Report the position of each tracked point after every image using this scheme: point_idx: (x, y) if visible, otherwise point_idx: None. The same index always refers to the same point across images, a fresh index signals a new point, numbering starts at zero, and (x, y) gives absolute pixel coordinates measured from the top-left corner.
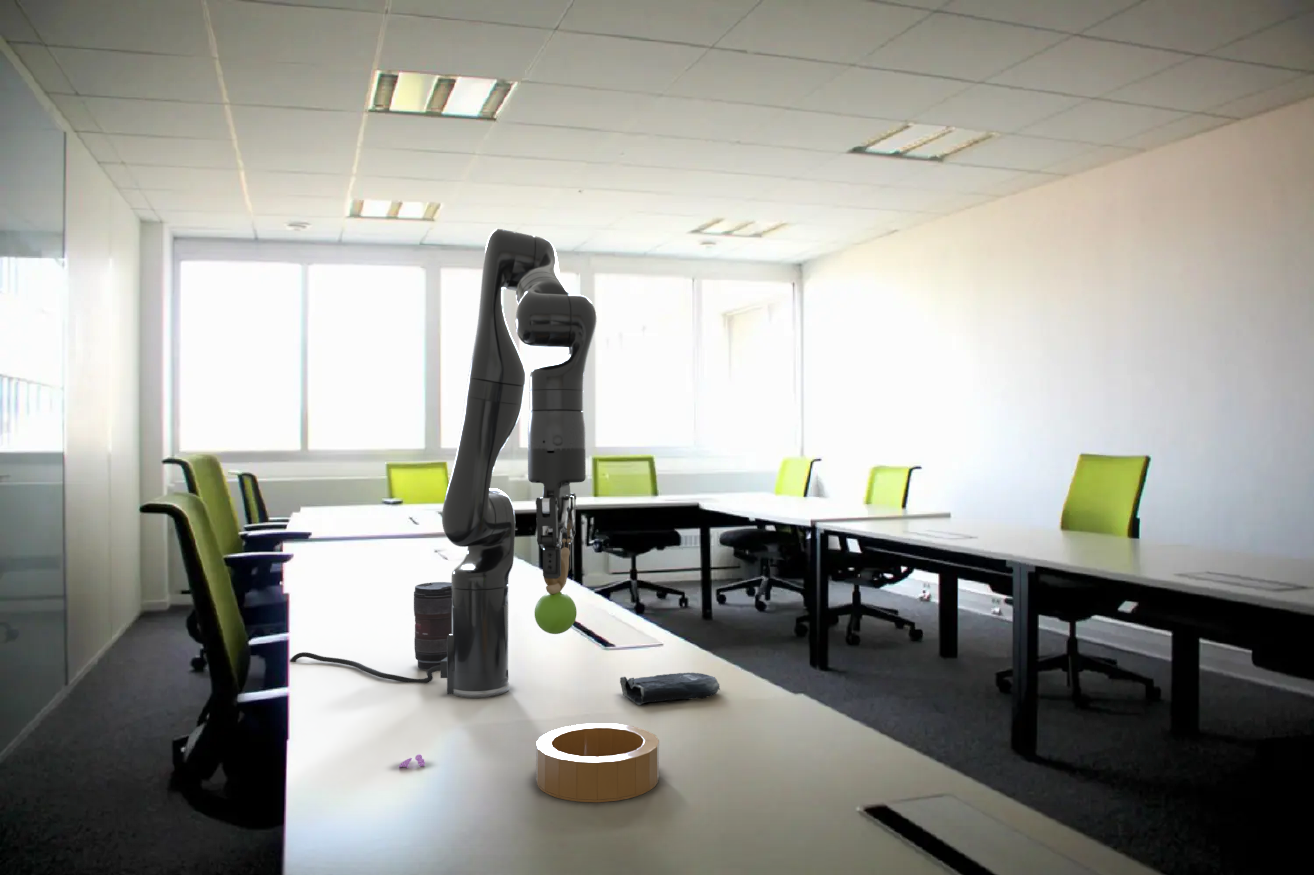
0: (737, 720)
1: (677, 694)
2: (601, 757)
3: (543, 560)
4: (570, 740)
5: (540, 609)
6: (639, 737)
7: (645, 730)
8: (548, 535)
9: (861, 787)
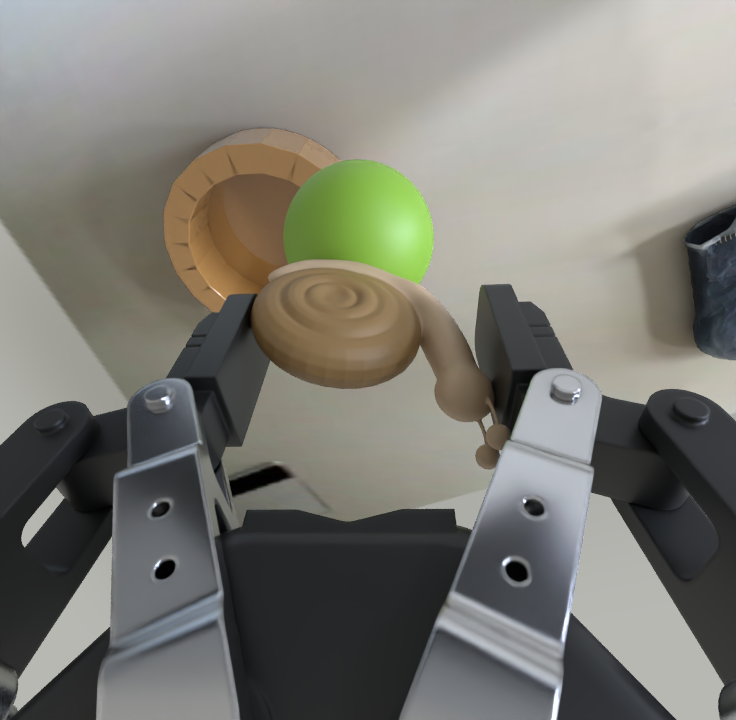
0: None
1: (693, 298)
2: (197, 273)
3: (205, 339)
4: None
5: (289, 210)
6: None
7: None
8: (61, 493)
9: (329, 467)
